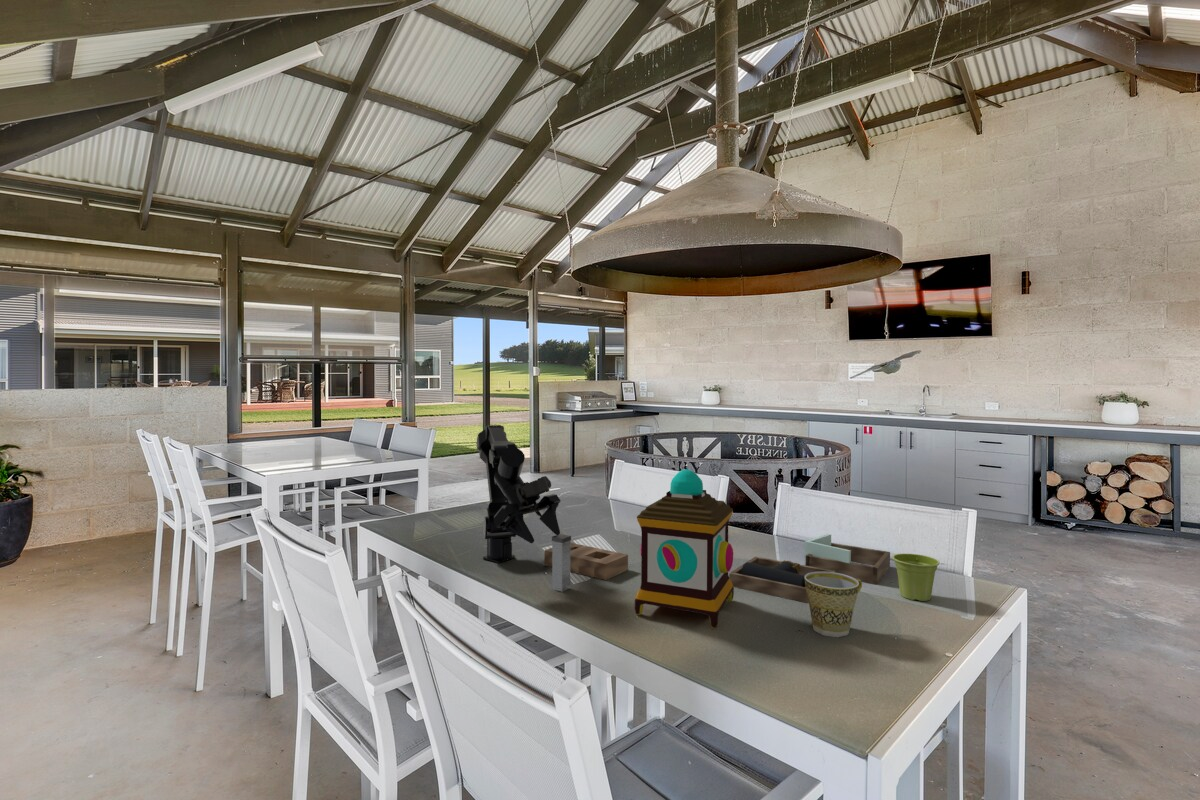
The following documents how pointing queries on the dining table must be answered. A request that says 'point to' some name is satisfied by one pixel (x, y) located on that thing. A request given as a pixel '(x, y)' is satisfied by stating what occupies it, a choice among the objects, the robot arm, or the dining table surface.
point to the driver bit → (561, 562)
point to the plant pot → (915, 575)
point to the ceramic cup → (831, 601)
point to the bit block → (593, 561)
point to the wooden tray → (769, 585)
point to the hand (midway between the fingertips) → (546, 538)
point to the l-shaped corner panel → (826, 549)
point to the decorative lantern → (686, 550)
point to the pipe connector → (776, 572)
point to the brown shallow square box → (853, 569)
